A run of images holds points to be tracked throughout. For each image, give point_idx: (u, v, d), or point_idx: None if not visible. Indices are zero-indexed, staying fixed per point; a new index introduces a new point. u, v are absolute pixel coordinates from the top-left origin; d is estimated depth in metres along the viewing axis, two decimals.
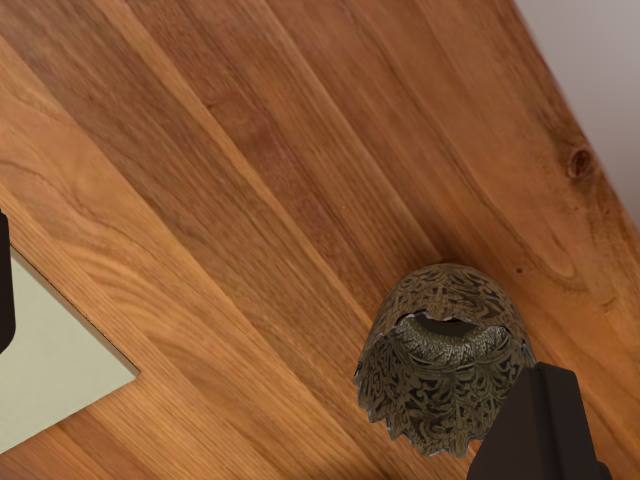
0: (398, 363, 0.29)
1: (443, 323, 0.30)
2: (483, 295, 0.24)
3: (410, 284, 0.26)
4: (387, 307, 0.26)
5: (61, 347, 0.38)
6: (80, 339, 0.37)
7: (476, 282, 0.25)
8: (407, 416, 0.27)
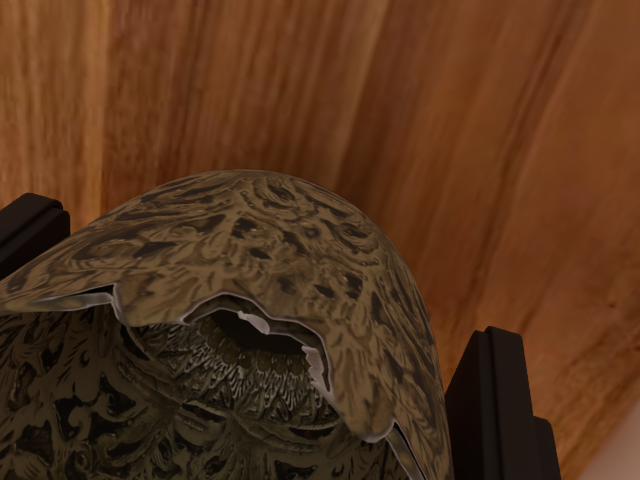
0: (85, 322, 0.11)
1: None
2: (437, 383, 0.08)
3: (286, 207, 0.08)
4: (187, 217, 0.07)
5: None
6: None
7: (427, 328, 0.09)
8: (3, 469, 0.09)
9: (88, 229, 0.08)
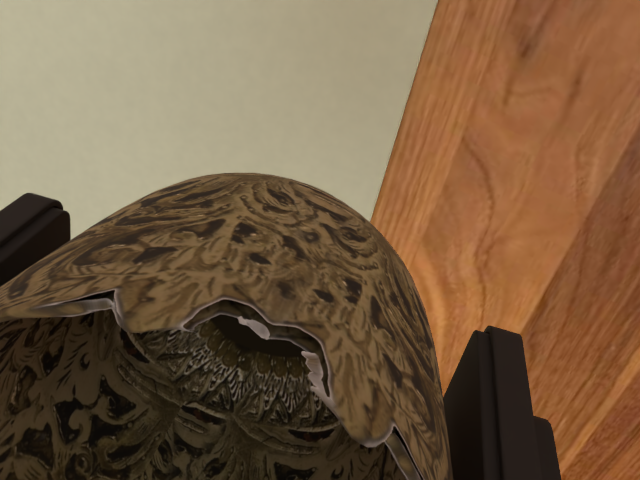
0: (85, 324, 0.11)
1: None
2: (436, 386, 0.08)
3: (286, 211, 0.08)
4: (187, 222, 0.08)
5: None
6: None
7: (426, 331, 0.09)
8: (3, 472, 0.10)
9: (88, 234, 0.08)
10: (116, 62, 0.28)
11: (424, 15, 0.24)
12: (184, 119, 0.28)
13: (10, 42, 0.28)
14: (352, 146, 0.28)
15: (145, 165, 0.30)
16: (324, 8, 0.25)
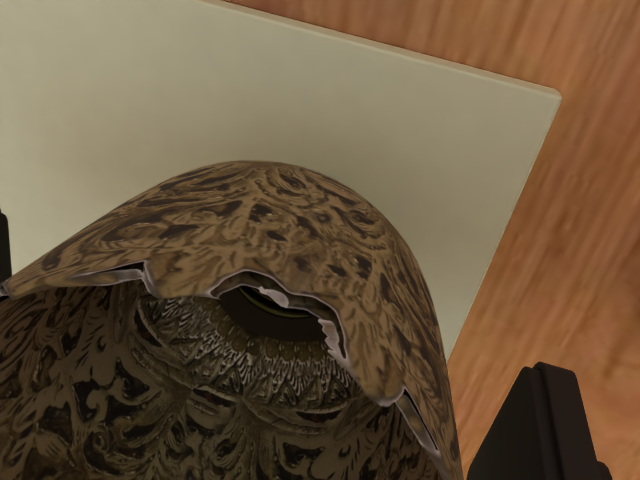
0: (102, 308, 0.11)
1: (243, 290, 0.14)
2: (441, 360, 0.09)
3: (298, 195, 0.09)
4: (206, 203, 0.08)
5: None
6: None
7: (432, 310, 0.09)
8: (26, 447, 0.10)
9: (112, 215, 0.08)
10: None
11: (477, 257, 0.14)
12: None
13: None
14: None
15: None
16: None
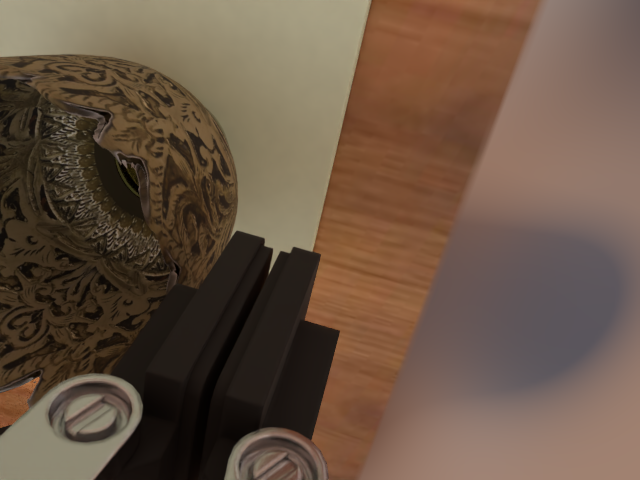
0: None
1: None
2: None
3: (221, 251, 0.14)
4: (211, 231, 0.13)
5: None
6: None
7: None
8: None
9: (192, 170, 0.12)
10: None
11: None
12: None
13: None
14: None
15: None
16: None
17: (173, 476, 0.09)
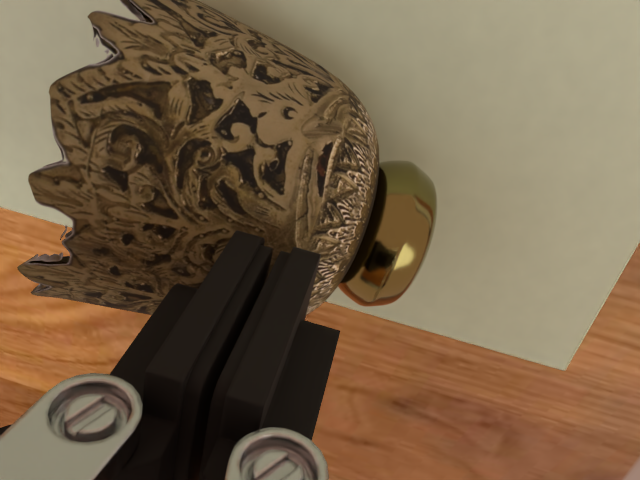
0: None
1: None
2: (150, 313, 0.14)
3: (210, 258, 0.11)
4: (169, 194, 0.11)
5: None
6: None
7: None
8: None
9: (190, 119, 0.11)
10: None
11: (447, 328, 0.19)
12: None
13: None
14: None
15: None
16: (466, 216, 0.17)
17: (173, 476, 0.09)
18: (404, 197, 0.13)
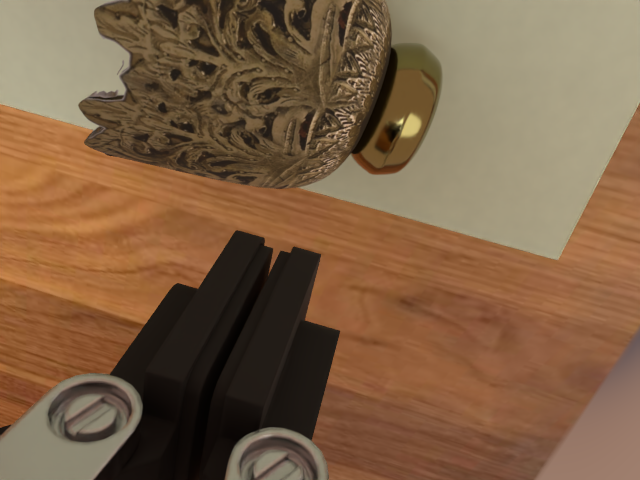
0: None
1: None
2: (187, 169, 0.15)
3: (245, 97, 0.13)
4: (212, 33, 0.13)
5: (27, 41, 0.21)
6: (23, 87, 0.22)
7: (225, 175, 0.15)
8: None
9: None
10: None
11: (451, 222, 0.21)
12: None
13: None
14: None
15: None
16: (469, 110, 0.19)
17: (173, 476, 0.09)
18: (413, 64, 0.15)
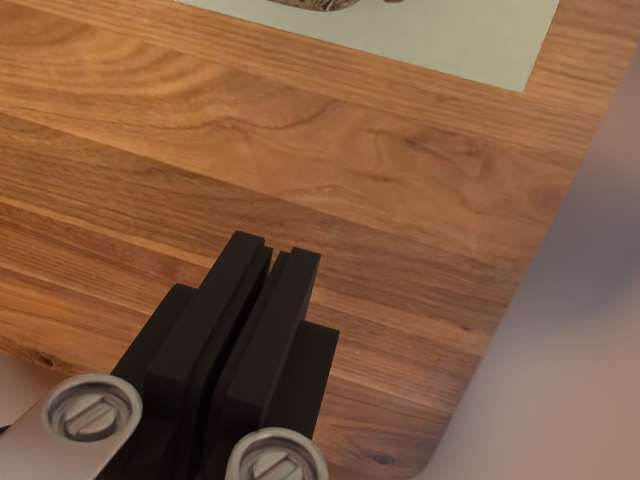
0: None
1: None
2: None
3: None
4: None
5: None
6: None
7: None
8: None
9: None
10: None
11: (443, 65, 0.29)
12: None
13: None
14: None
15: None
16: None
17: (173, 476, 0.09)
18: None
